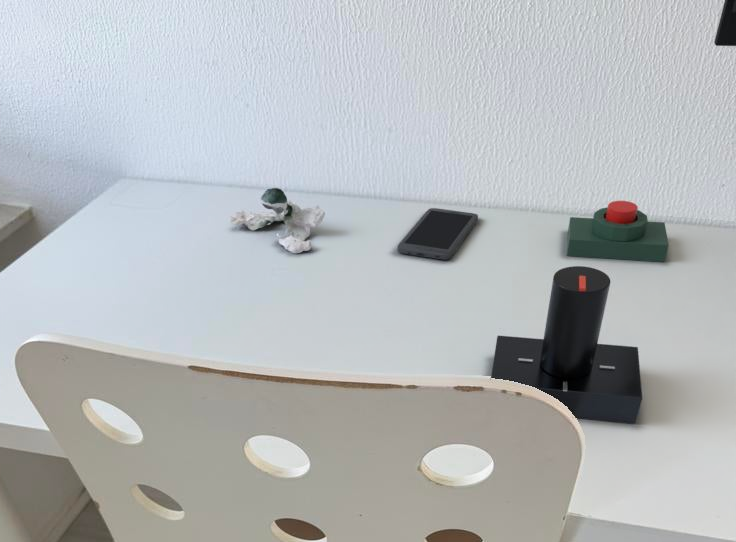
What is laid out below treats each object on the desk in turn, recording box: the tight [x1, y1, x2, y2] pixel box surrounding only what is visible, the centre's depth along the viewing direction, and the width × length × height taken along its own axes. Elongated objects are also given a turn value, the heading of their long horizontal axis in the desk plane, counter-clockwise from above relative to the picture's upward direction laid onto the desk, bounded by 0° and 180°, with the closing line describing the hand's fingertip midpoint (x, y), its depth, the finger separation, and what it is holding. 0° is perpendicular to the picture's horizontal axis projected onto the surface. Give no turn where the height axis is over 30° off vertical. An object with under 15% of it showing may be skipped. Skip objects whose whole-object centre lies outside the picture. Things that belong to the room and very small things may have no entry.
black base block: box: [490, 335, 643, 425], centre depth 76 cm, size 14×9×3 cm, turn 78°
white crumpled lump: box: [228, 187, 326, 254], centre depth 105 cm, size 15×8×8 cm
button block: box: [566, 206, 669, 263], centre depth 99 cm, size 12×7×4 cm, turn 78°
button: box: [606, 200, 639, 224], centre depth 97 cm, size 4×4×2 cm
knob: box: [540, 265, 611, 378], centre depth 72 cm, size 5×5×9 cm
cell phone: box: [397, 207, 479, 261], centre depth 104 cm, size 7×14×1 cm, turn 157°
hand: (727, 44), depth 86 cm, fingers closed
